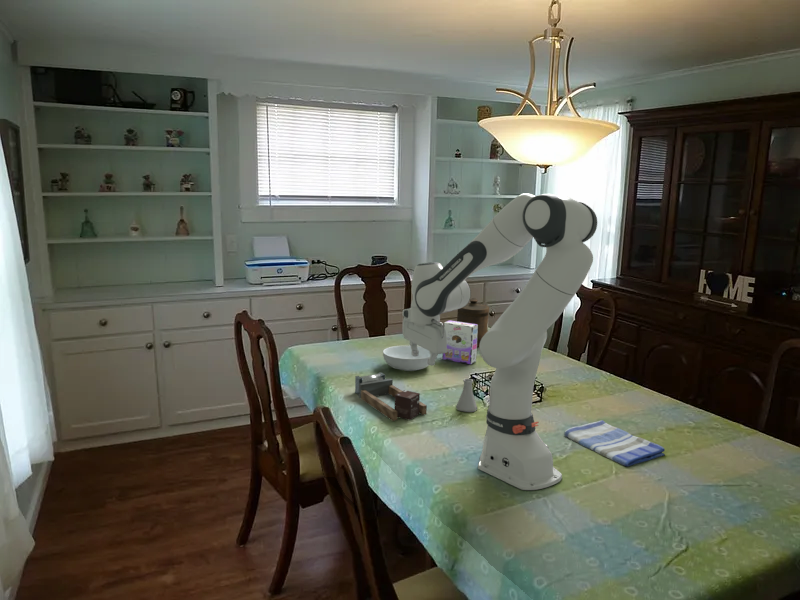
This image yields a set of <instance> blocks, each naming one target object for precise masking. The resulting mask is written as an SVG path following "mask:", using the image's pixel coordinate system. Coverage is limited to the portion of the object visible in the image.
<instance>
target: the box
mask: <svg viewBox="0 0 800 600" xmlns="http://www.w3.org/2000/svg"><path fill="white" fill-rule="evenodd" d="M419 401H420V393H419V392H415V391H410V390H406V389H404V390H402V392H399V393H398V394H396V395H395V397H394V409H395V410H396V411H397V418H399V417H400V419H403V420H407V421H411V420H414V419H415V418H417V417H418V416H419V415H420V413H419Z"/></svg>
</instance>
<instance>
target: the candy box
mask: <svg viewBox="0 0 800 600" xmlns="http://www.w3.org/2000/svg"><path fill="white" fill-rule="evenodd" d="M442 324H443V326H444V328H445V330H446V336H447V350H446V352H445V353H443V354H442V360H445V361H449V362H455V363H461V364H466V365H472V364H474V363H476V362H477V353H478V352H477V351H478V350H477V349H478V347H477V333H478V325H477V324H470V323H464V322H457V320H449V319H448V320H447V321H445V322H442Z"/></svg>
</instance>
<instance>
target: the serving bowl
mask: <svg viewBox="0 0 800 600" xmlns="http://www.w3.org/2000/svg"><path fill="white" fill-rule="evenodd" d="M417 349H418V350H419V355H418V356H416V357H415V356H412V354H411V353H412V350H411V347H410V345H394V346H389V347H386V348H384V349H383V350H382V356H383V360H384V361H385V363H386V364H387V365H388V366H389V367H391V368H393V369H396V370H399V371H403V370H404V372H415V371H420V370H422V369H423V370H424V369H425V368H427V367H429V366H430V365H429V364H428V363H427V362H428V358H430V351H429V350H427V349H425V348H423V347H421V346H419V345H417Z"/></svg>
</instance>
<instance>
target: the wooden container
mask: <svg viewBox="0 0 800 600" xmlns="http://www.w3.org/2000/svg"><path fill="white" fill-rule="evenodd" d="M469 302H470V303H469ZM469 302H468V304H467V305H466V306H464V307H462V308H460V309H457V317H456V318H457V319H456V321H457V322H464V323H470V324H477V325H478V333H477V348H479V346H480V341H481V339H482V337H483V336H484V335H485V334H486V333H487V332H488V331H489V314H490V313H489V312H490V307H489V306H488V305H486V304H481V303H478V299H477V298H476V297H473V298H470V300H469Z"/></svg>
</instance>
